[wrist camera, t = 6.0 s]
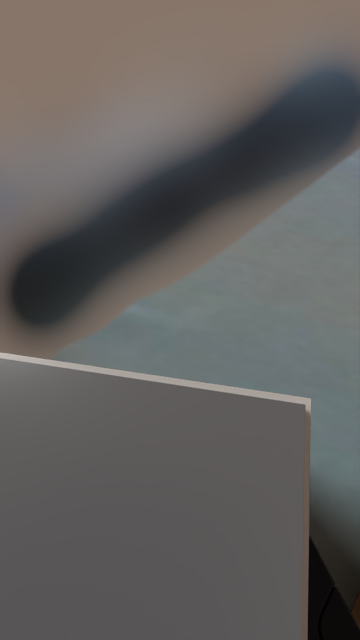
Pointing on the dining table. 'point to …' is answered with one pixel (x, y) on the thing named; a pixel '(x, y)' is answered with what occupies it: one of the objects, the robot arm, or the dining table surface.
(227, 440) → the tall grey box
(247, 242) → the dining table surface
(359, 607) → the end holder
